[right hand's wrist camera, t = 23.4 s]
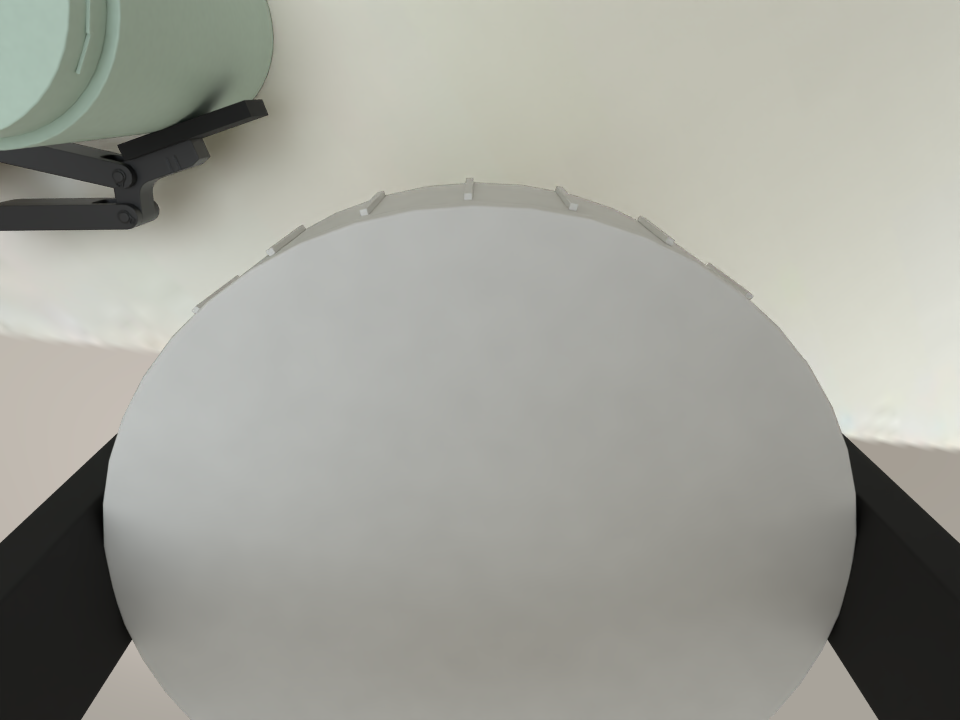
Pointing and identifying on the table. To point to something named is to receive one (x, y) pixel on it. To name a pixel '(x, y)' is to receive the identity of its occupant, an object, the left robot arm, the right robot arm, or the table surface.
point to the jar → (124, 65)
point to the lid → (479, 477)
